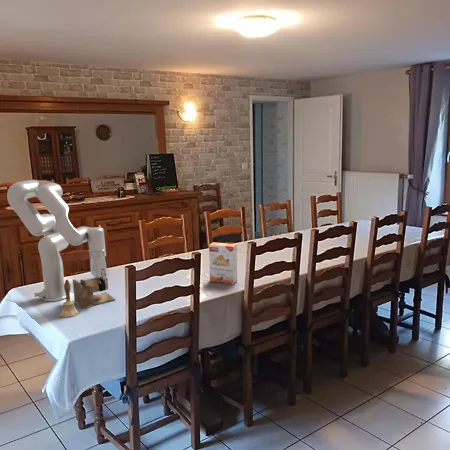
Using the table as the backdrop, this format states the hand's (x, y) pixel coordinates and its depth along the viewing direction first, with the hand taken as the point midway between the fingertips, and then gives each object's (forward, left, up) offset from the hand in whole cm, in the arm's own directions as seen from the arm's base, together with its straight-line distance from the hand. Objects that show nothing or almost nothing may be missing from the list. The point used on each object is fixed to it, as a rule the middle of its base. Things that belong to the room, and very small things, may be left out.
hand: (100, 289), depth 221 cm
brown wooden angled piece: (-3, 0, -5) cm, 6 cm away
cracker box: (+63, -15, -5) cm, 65 cm away
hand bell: (-18, -9, -5) cm, 21 cm away
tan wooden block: (-3, 0, 0) cm, 3 cm away
